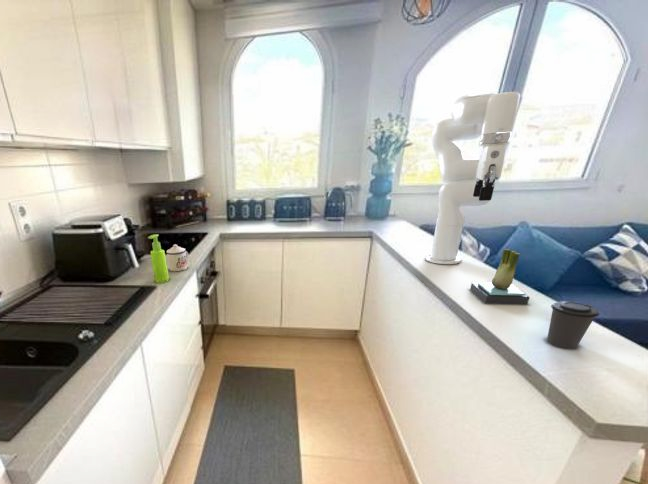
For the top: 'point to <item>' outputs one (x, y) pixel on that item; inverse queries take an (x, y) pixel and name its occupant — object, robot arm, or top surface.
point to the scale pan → (501, 290)
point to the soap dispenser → (158, 261)
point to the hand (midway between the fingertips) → (481, 198)
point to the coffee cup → (569, 323)
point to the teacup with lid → (177, 258)
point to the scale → (497, 296)
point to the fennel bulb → (506, 270)
